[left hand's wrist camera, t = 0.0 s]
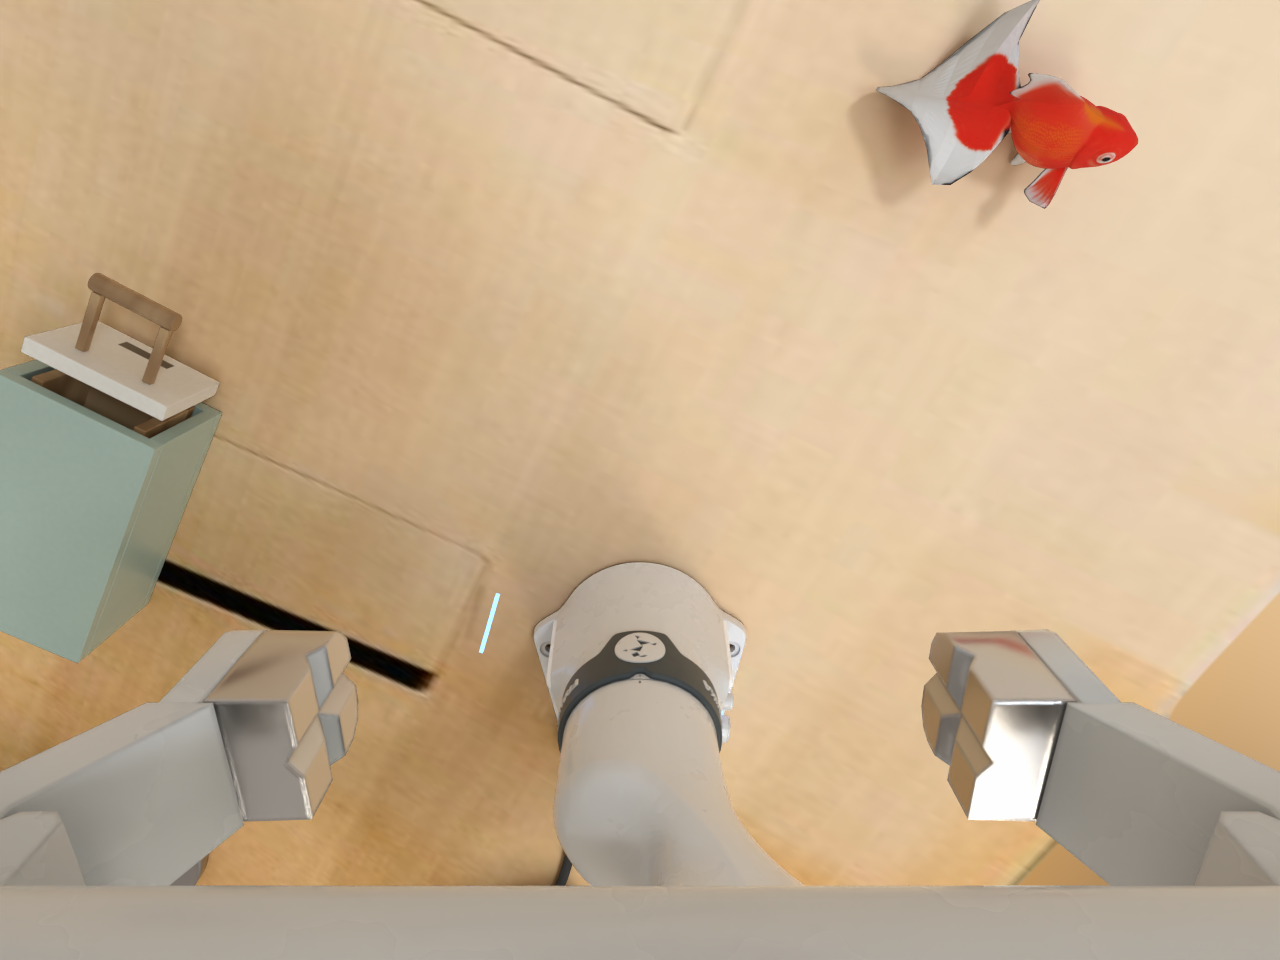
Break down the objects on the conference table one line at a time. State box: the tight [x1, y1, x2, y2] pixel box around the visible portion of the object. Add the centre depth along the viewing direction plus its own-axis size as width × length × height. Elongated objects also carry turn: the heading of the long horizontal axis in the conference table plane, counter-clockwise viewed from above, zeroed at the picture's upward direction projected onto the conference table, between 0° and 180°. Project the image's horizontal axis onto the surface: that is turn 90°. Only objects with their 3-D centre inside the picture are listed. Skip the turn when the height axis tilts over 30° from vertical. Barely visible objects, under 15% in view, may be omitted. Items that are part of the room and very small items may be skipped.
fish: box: [876, 0, 1138, 209], centre depth 48 cm, size 11×16×10 cm
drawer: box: [21, 273, 220, 439], centre depth 55 cm, size 24×10×7 cm, turn 150°
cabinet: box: [0, 360, 222, 663], centre depth 57 cm, size 20×11×9 cm, turn 150°
